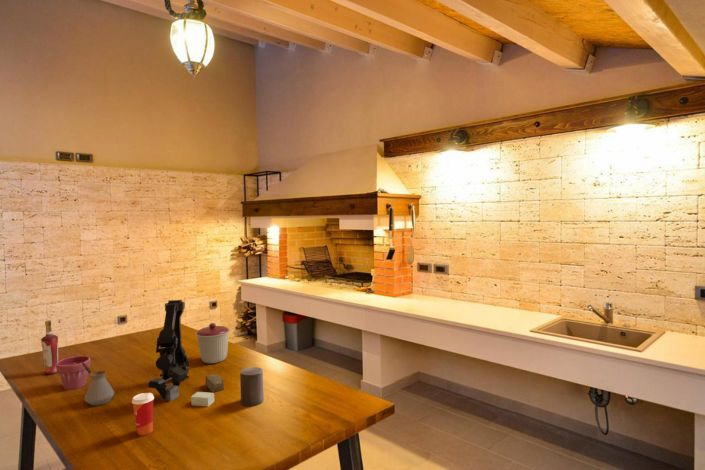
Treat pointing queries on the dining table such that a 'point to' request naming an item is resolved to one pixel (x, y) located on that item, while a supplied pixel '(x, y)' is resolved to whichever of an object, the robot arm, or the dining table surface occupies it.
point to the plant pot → (73, 371)
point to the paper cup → (143, 413)
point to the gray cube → (171, 392)
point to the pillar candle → (251, 386)
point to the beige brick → (202, 399)
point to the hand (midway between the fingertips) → (170, 395)
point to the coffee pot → (98, 388)
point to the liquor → (50, 349)
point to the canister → (213, 343)
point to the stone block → (214, 383)
